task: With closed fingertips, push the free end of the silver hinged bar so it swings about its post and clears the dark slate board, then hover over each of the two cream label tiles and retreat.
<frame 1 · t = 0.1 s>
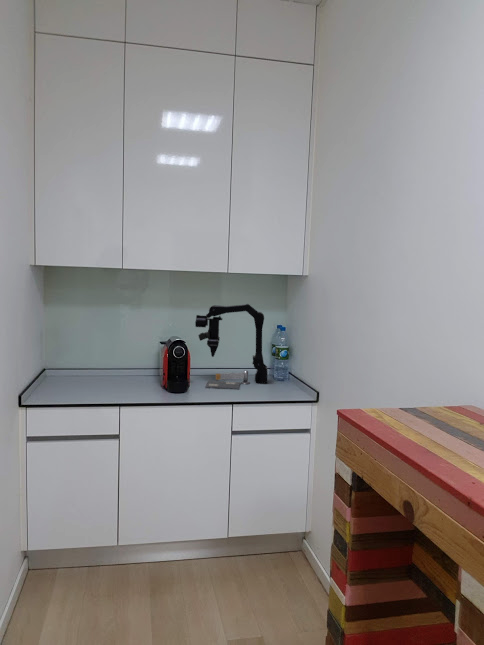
hand: (213, 355, 282), 14 cm above the worktop, fingers open, 9 cm apart
swing arm: (232, 377, 276), point 4 cm above the worktop, hinge at 0.0°
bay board: (223, 385, 272), on the worktop
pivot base: (245, 383, 279), on the worktop
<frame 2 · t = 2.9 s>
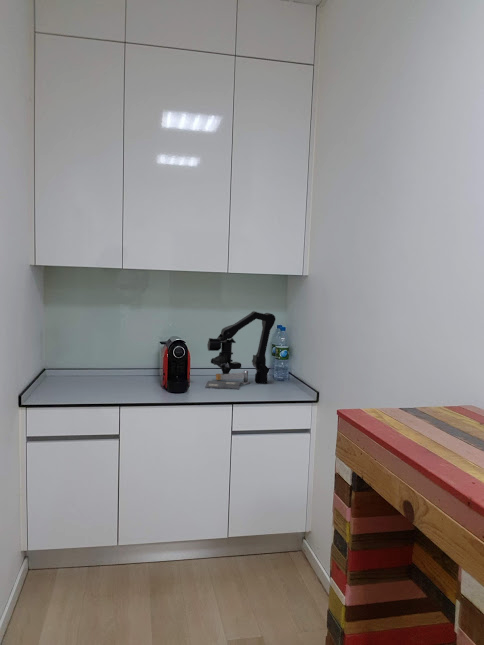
hand: (225, 378, 277), 3 cm above the worktop, fingers closed
swing arm: (232, 377, 276), point 4 cm above the worktop, hinge at 1.2°, touching gripper
everything else where it was.
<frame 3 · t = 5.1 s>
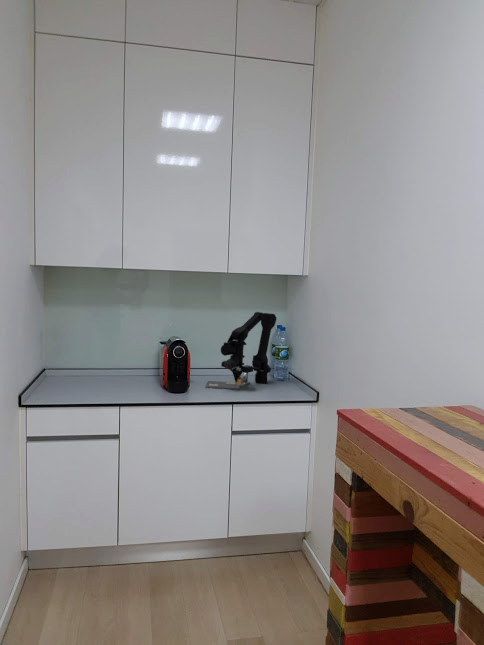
hand: (236, 382, 269), 3 cm above the worktop, fingers closed
swing arm: (242, 379, 271), point 4 cm above the worktop, hinge at 55.4°, touching gripper
everything else where it was.
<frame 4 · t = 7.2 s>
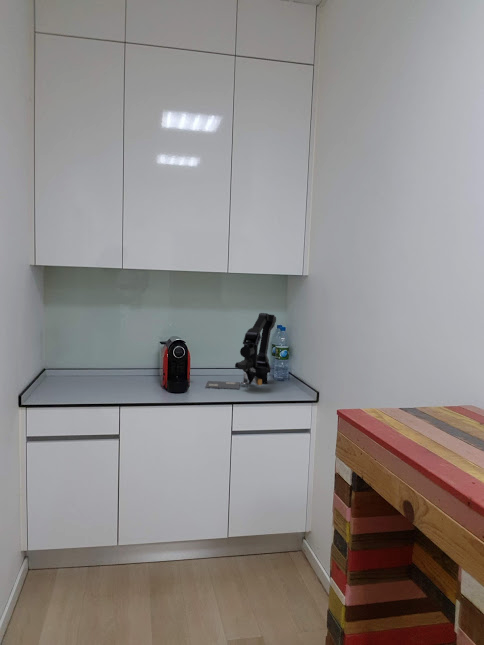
hand: (250, 383, 267), 3 cm above the worktop, fingers closed
swing arm: (252, 379, 272), point 4 cm above the worktop, hinge at 92.0°, touching gripper
everything else where it was.
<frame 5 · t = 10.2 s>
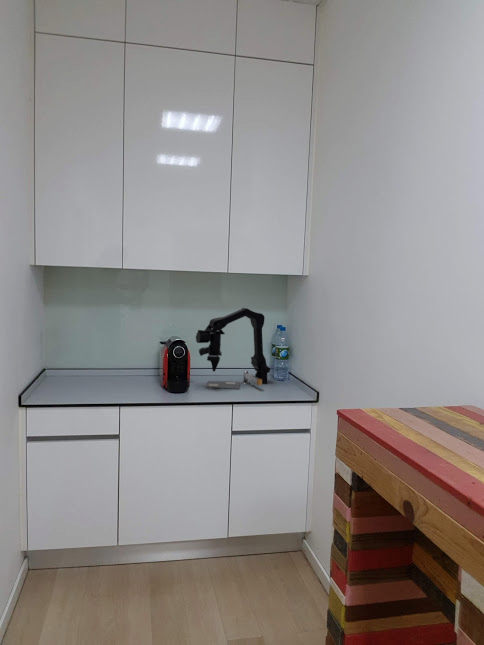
hand: (213, 371, 268), 8 cm above the worktop, fingers closed
swing arm: (252, 379, 272), point 4 cm above the worktop, hinge at 92.3°
everything else where it was.
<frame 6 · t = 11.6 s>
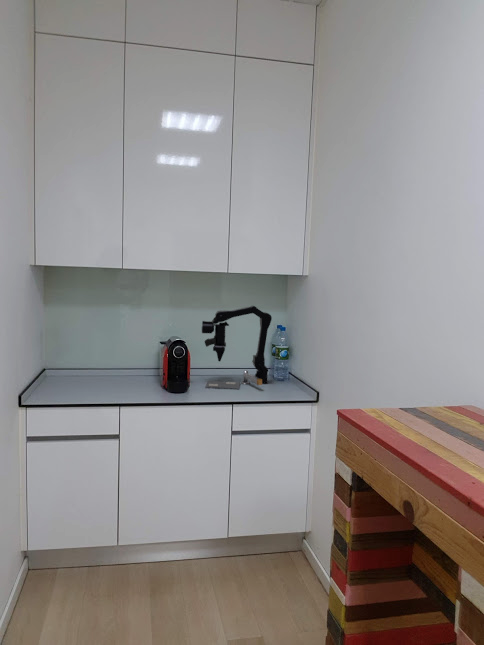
hand: (219, 361, 279), 12 cm above the worktop, fingers closed
nothing on the worktop moved.
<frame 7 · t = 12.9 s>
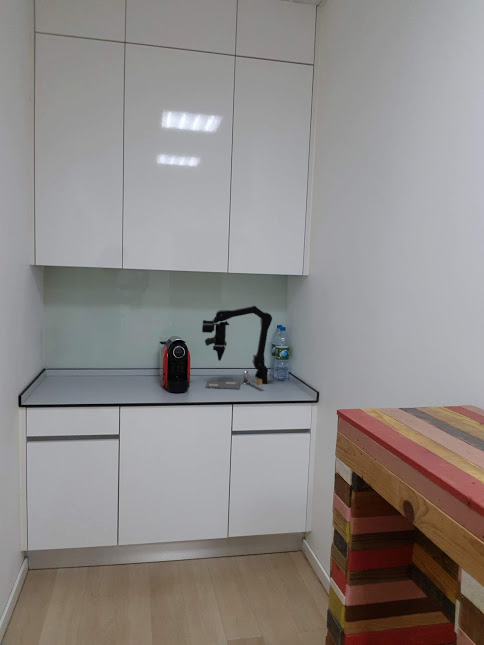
hand: (219, 360, 279), 12 cm above the worktop, fingers closed
nothing on the worktop moved.
at the end: swing arm at +92° (first picture: +0°); swing arm touching nothing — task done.
